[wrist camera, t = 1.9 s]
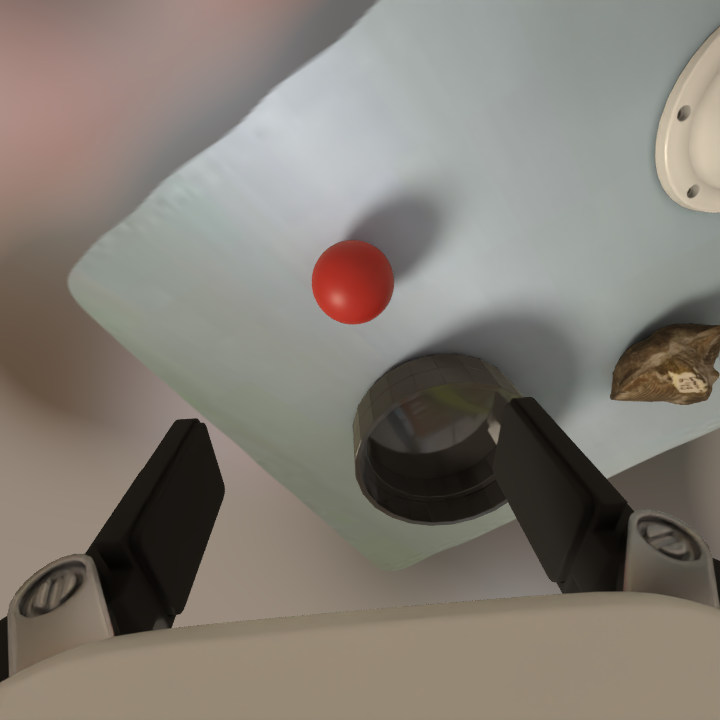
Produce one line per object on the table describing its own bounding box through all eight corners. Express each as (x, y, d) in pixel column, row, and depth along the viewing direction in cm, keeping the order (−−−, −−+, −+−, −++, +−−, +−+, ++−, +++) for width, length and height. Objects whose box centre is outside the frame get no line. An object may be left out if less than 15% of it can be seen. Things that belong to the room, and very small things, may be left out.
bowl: (532, 346, 32) (566, 376, 27) (501, 478, 40) (524, 519, 35) (349, 355, 31) (351, 388, 26) (355, 487, 39) (358, 530, 34)
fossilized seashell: (730, 295, 28) (594, 340, 31) (794, 366, 25) (634, 408, 28) (697, 336, 34) (586, 369, 37) (744, 397, 31) (618, 428, 34)
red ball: (388, 232, 27) (401, 246, 21) (388, 306, 29) (398, 335, 24) (311, 235, 26) (304, 250, 21) (317, 310, 29) (312, 339, 24)
